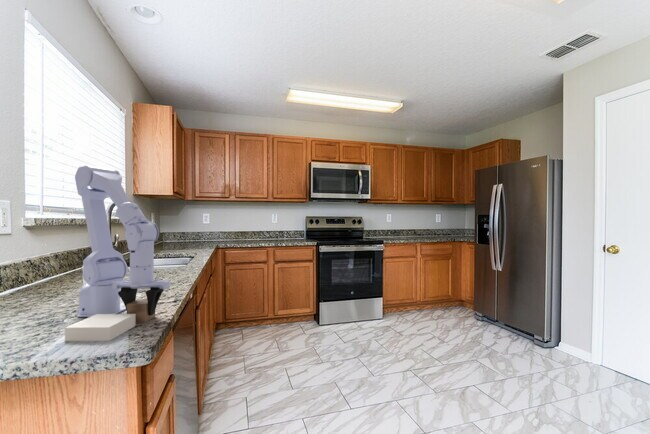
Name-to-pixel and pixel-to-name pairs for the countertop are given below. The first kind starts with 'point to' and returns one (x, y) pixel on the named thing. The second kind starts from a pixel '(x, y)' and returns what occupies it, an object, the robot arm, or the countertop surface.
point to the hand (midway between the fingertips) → (141, 314)
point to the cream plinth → (100, 327)
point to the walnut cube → (139, 310)
